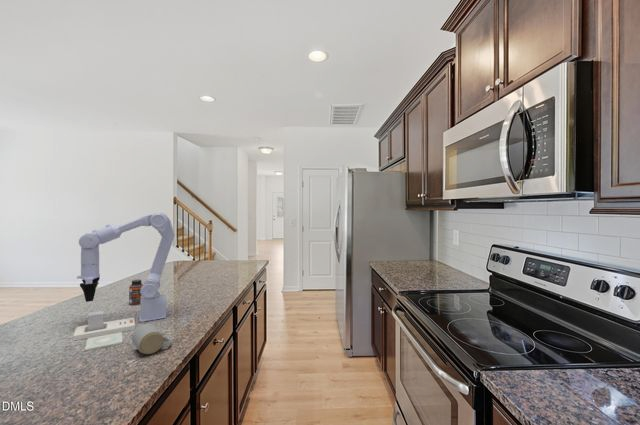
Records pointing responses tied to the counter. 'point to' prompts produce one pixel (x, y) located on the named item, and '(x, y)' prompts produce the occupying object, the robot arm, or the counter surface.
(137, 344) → the ceramic mug
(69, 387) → the counter surface
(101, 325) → the block
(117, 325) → the power strip
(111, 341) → the pad
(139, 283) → the supplement bottle
